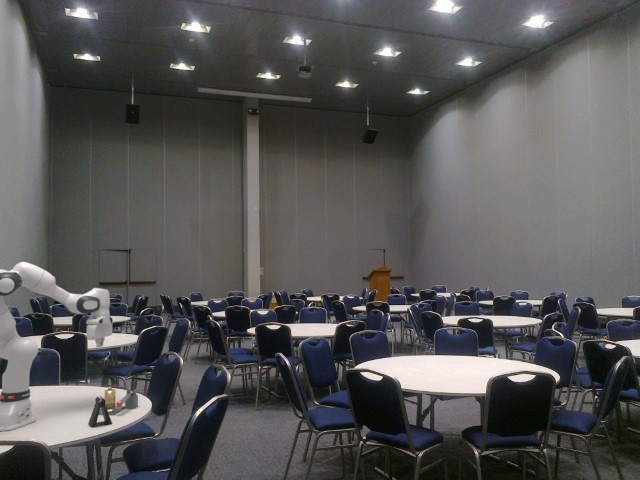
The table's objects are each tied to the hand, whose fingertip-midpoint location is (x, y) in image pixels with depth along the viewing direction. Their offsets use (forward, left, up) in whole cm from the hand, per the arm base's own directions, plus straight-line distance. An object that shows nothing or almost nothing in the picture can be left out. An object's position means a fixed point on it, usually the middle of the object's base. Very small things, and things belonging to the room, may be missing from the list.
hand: (99, 346), depth 285 cm
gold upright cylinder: (-8, -9, -29) cm, 31 cm away
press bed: (-8, -9, -31) cm, 33 cm away
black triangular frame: (-29, -14, -31) cm, 45 cm away
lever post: (0, -17, -31) cm, 35 cm away
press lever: (-7, -17, -26) cm, 31 cm away
